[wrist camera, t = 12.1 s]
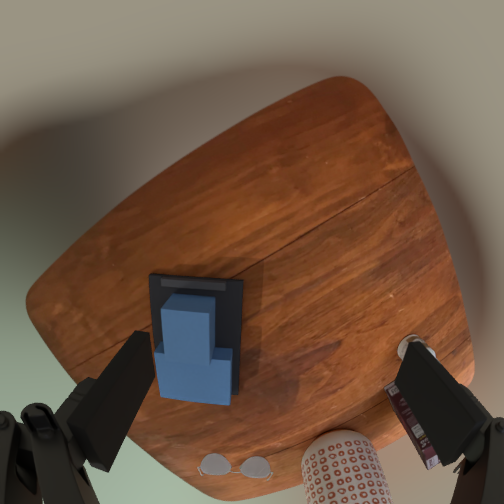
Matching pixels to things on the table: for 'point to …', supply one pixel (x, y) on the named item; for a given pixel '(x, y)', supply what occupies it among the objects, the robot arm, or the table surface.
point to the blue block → (189, 328)
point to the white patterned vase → (343, 470)
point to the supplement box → (412, 426)
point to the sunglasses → (221, 466)
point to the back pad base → (226, 340)
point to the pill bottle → (411, 338)
